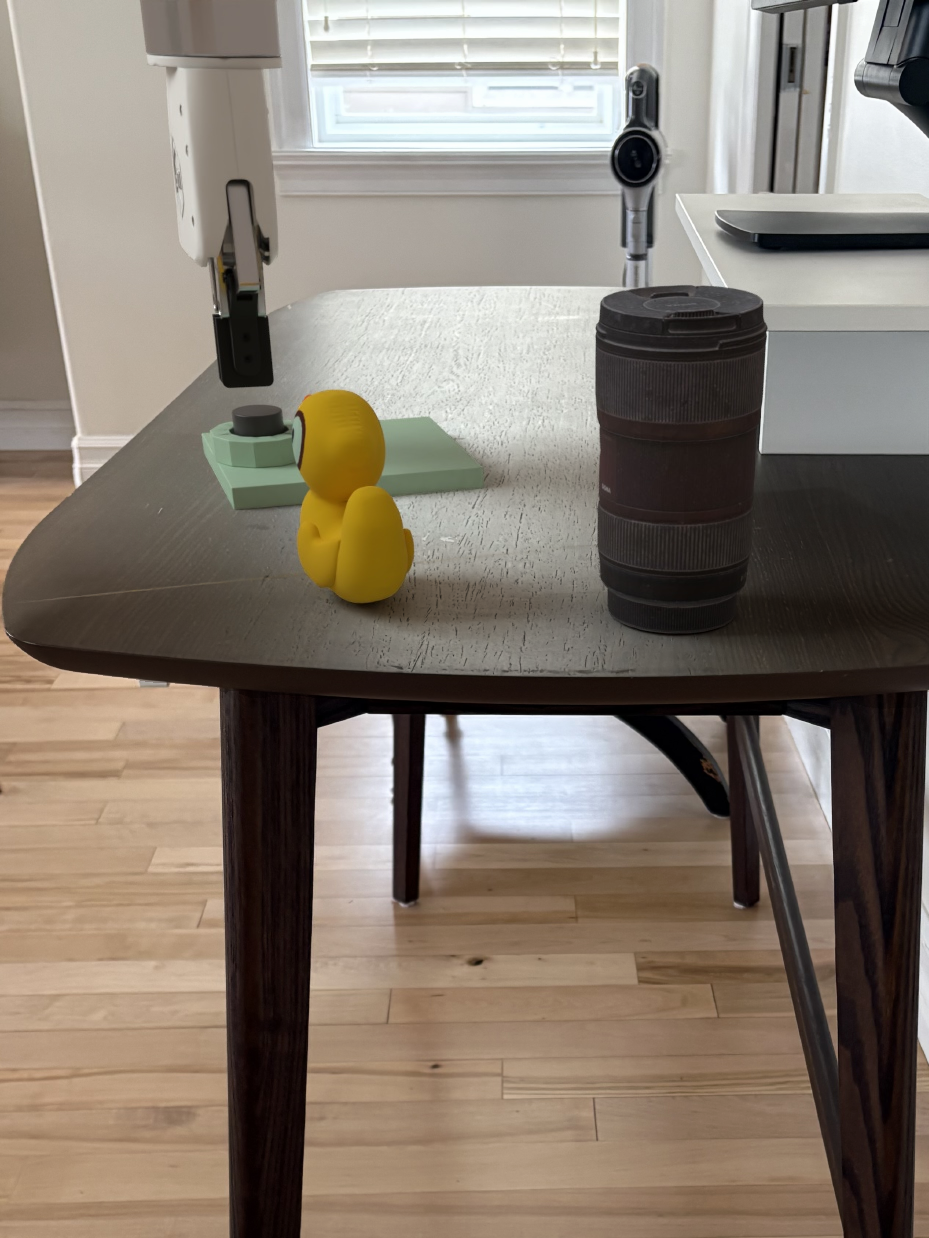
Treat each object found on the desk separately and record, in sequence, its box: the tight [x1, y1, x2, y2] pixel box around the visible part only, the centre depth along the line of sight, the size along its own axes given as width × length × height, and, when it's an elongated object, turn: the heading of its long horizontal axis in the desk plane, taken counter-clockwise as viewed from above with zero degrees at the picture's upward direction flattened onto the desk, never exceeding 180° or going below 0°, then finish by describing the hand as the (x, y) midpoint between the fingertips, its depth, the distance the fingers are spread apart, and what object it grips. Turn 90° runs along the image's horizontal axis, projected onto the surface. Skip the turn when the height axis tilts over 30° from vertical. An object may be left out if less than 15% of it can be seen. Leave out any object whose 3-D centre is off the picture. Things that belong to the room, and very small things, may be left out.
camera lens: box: [594, 284, 769, 634], centre depth 75 cm, size 8×8×15 cm
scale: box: [201, 415, 485, 511], centre depth 100 cm, size 16×14×3 cm
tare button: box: [231, 404, 285, 437], centre depth 97 cm, size 3×3×2 cm
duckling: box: [292, 389, 415, 604], centre depth 78 cm, size 11×5×10 cm, turn 25°
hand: (246, 384), depth 96 cm, fingers closed
